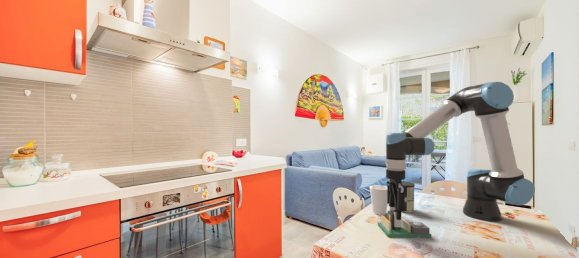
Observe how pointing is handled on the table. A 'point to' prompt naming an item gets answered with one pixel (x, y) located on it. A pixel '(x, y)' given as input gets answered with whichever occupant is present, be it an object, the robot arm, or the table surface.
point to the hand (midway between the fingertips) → (395, 224)
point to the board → (404, 229)
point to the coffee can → (409, 196)
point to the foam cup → (379, 199)
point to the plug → (392, 219)
